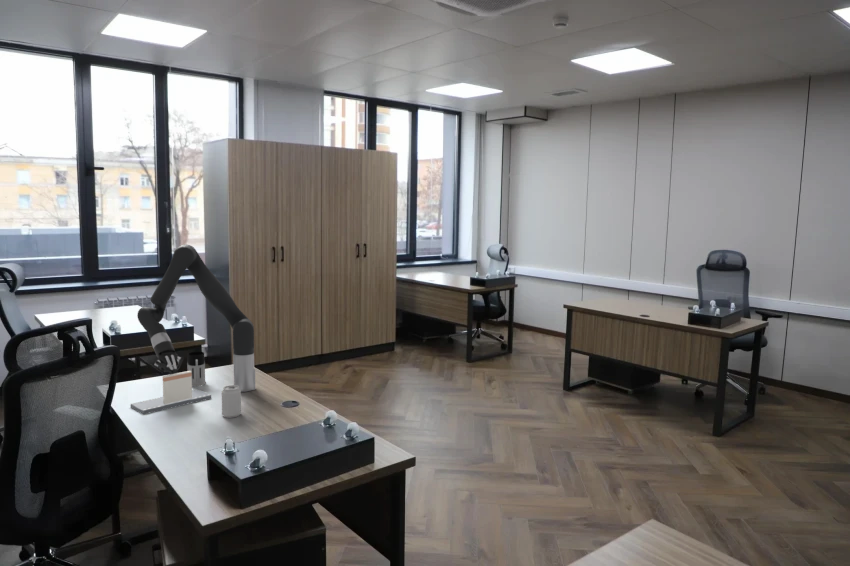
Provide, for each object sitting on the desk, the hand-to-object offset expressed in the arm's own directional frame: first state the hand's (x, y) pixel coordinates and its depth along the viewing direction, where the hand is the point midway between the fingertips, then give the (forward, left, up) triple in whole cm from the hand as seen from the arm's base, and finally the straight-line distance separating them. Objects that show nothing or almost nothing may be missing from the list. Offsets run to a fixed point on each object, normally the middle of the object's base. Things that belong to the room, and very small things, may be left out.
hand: (176, 378), depth 254 cm
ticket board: (+1, -4, -12) cm, 13 cm away
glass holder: (-11, -26, -12) cm, 31 cm away
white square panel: (0, +2, -10) cm, 10 cm away
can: (-18, +23, -12) cm, 32 cm away
